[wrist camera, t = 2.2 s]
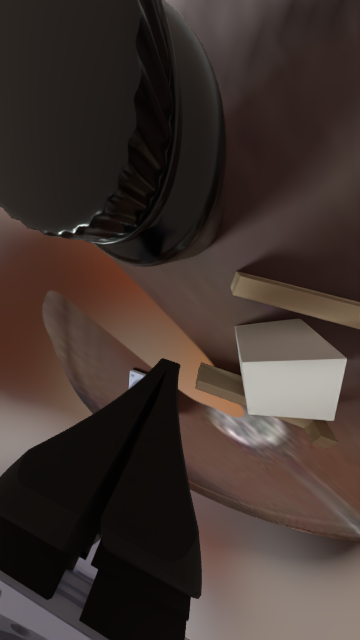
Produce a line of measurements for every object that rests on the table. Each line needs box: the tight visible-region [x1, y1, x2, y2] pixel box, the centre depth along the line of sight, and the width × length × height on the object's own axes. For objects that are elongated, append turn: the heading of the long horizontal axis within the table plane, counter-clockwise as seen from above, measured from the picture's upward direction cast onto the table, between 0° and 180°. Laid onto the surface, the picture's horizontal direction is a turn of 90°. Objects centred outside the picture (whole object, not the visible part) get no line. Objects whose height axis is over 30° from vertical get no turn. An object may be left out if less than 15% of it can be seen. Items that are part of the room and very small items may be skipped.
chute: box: [195, 271, 360, 449], centre depth 14 cm, size 14×14×4 cm
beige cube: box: [235, 318, 347, 421], centre depth 13 cm, size 6×6×6 cm
